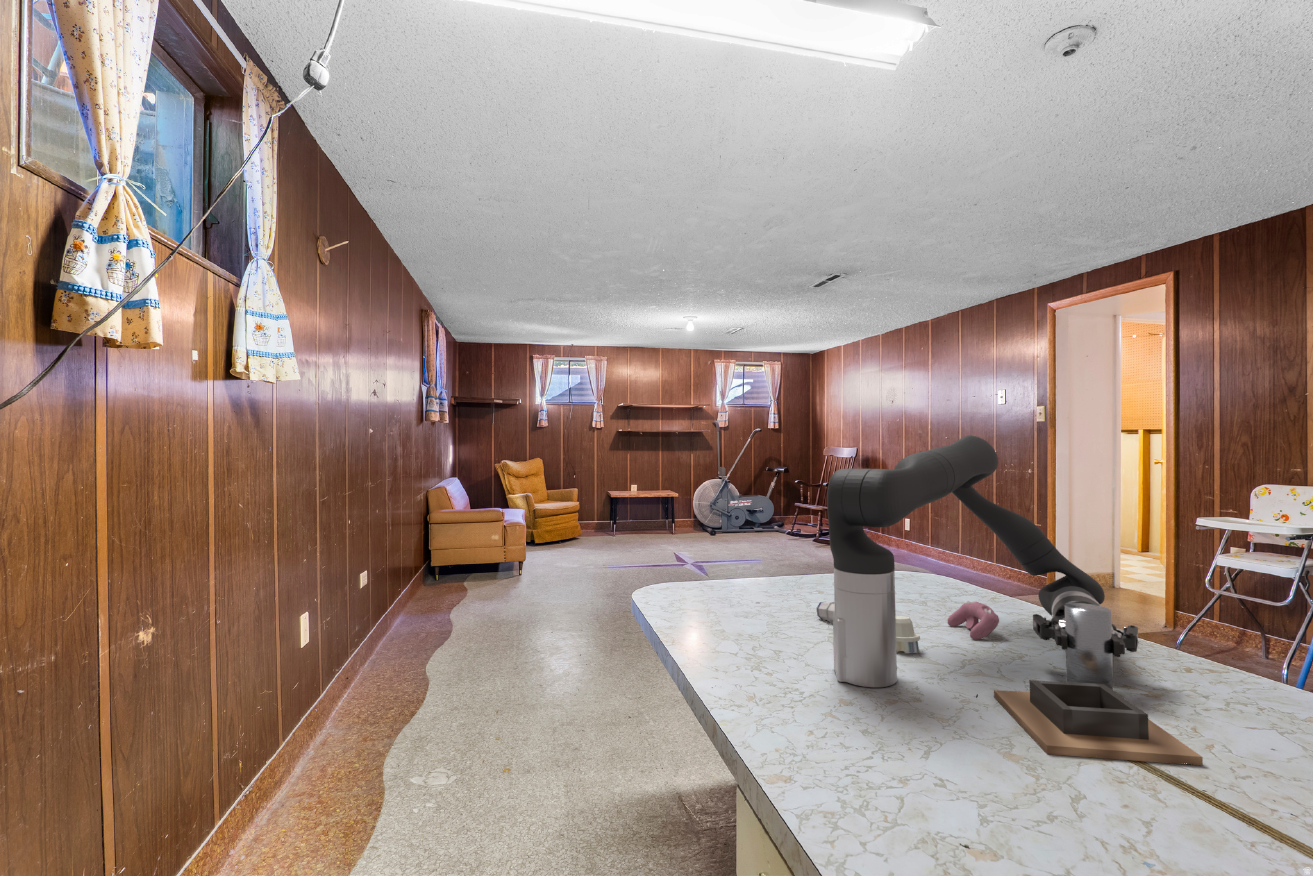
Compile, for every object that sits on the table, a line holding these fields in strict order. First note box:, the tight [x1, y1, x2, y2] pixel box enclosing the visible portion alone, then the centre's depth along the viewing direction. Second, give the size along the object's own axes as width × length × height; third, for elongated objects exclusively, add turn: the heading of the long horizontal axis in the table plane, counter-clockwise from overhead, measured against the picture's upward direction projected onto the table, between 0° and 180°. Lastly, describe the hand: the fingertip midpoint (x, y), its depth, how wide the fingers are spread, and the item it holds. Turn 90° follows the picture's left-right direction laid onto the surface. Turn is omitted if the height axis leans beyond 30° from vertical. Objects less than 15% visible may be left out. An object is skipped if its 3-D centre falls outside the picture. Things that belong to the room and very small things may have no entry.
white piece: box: [816, 601, 921, 654], centre depth 113 cm, size 5×7×25 cm
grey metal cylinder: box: [1065, 603, 1114, 691], centre depth 86 cm, size 6×6×12 cm
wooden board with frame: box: [993, 679, 1204, 766], centre depth 75 cm, size 16×16×4 cm
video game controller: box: [947, 600, 1000, 641], centre depth 114 cm, size 10×5×7 cm, turn 1°
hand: (1090, 646), depth 84 cm, fingers closed on grey metal cylinder, 5 cm apart
